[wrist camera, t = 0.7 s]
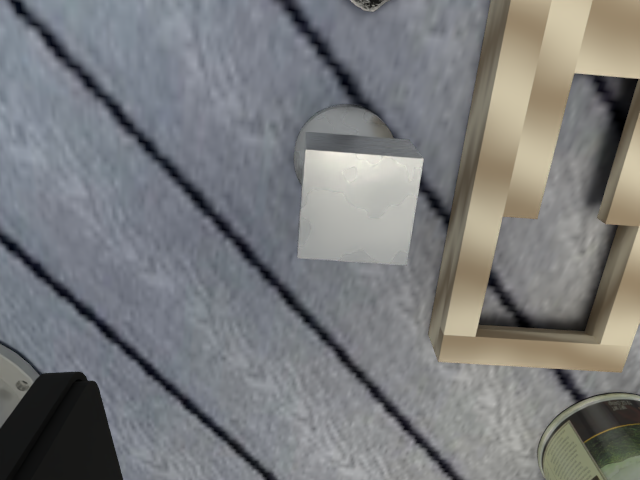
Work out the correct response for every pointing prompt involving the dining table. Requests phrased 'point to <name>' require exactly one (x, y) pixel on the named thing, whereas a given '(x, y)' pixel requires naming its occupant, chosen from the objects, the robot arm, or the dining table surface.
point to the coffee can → (594, 440)
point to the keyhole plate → (540, 181)
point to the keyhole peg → (355, 188)
